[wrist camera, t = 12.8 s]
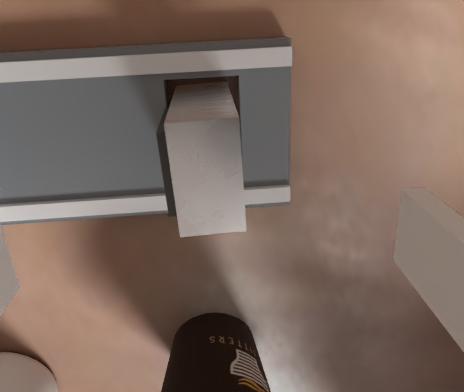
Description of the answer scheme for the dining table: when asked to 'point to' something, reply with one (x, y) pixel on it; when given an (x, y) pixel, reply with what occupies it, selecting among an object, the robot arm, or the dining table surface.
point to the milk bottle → (24, 374)
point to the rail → (129, 125)
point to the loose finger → (202, 160)
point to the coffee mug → (214, 357)
